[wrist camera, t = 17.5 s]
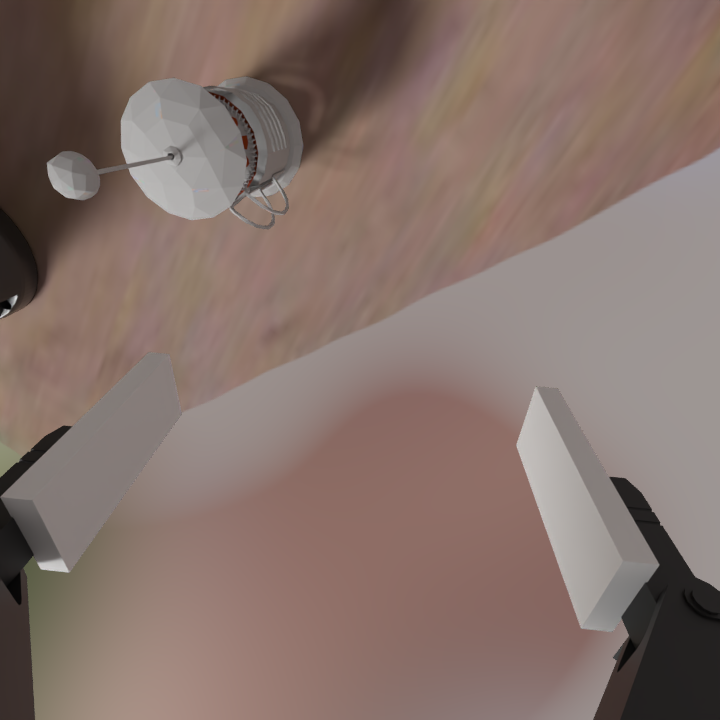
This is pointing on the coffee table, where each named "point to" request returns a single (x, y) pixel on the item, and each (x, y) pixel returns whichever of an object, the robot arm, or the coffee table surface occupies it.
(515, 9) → the coffee table surface
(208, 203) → the white plunger jar
